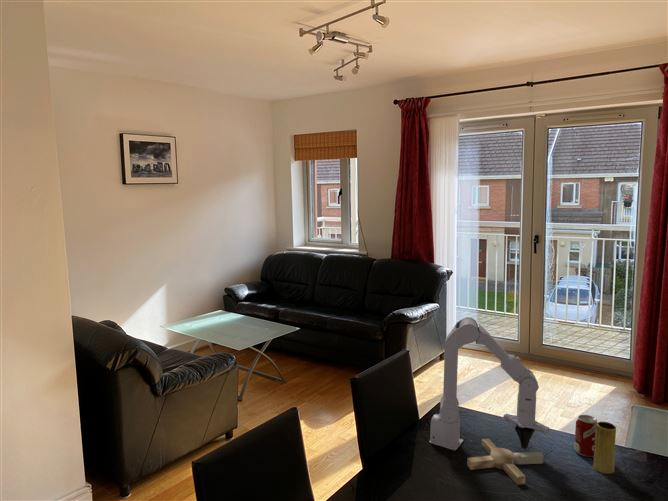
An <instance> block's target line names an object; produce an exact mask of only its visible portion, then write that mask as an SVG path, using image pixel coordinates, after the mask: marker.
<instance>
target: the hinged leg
mask: <svg viewBox="0 0 668 501" xmlns="http://www.w3.org/2000/svg"><path fill="white" fill-rule="evenodd" d="M512 453H513V454H514V465H532V464H533V465H534V464H537V465H539V464H544V454H542V453H541V452H540V451H528V452H527V451H525V452H512Z"/></svg>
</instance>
